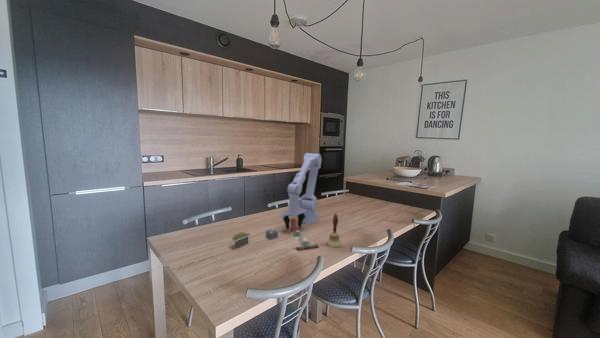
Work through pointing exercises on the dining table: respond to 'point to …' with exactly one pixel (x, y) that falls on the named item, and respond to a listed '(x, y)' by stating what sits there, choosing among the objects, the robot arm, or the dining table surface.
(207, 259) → the dining table surface
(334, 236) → the hand bell
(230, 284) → the dining table surface
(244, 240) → the potted plant
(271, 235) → the die
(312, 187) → the robot arm
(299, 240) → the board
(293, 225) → the pawn
